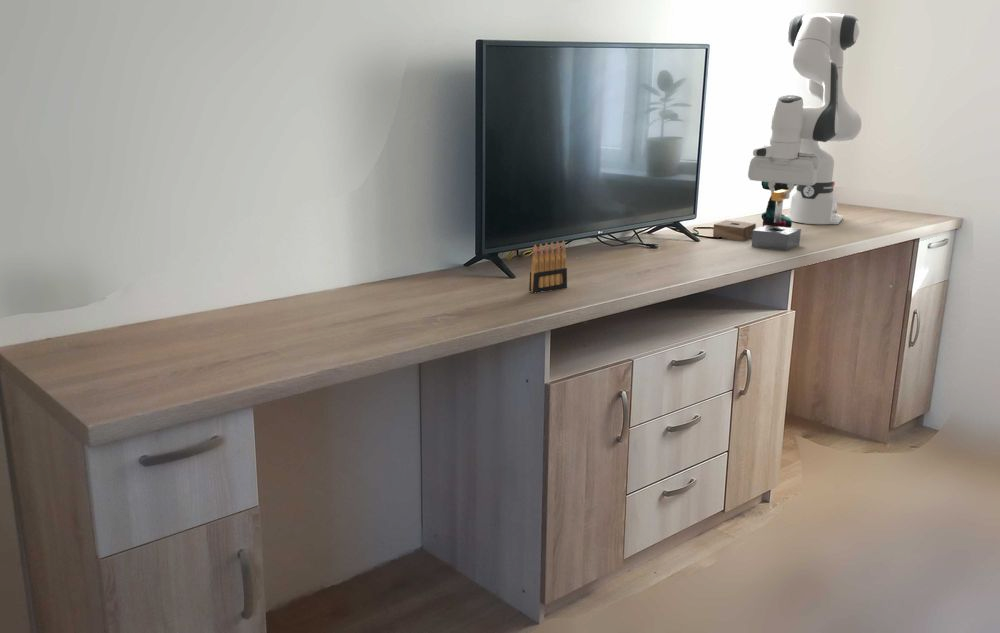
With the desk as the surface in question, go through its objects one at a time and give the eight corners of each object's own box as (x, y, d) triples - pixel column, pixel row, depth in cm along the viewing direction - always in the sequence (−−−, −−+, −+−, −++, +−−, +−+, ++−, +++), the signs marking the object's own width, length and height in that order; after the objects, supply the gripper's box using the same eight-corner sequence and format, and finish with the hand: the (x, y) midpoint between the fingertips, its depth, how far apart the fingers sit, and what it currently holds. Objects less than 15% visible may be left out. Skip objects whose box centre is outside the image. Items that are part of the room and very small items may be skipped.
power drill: (810, 235, 309) (817, 173, 304) (759, 234, 309) (765, 172, 304) (804, 231, 316) (810, 170, 311) (754, 230, 316) (760, 169, 311)
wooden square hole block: (725, 232, 313) (726, 220, 311) (754, 235, 307) (755, 223, 306) (712, 236, 305) (713, 224, 304) (742, 240, 299) (743, 228, 298)
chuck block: (764, 240, 300) (766, 225, 298) (799, 245, 293) (801, 229, 292) (751, 246, 291) (752, 230, 290) (786, 251, 285) (788, 234, 283)
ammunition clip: (533, 293, 232) (534, 245, 229) (528, 292, 233) (529, 244, 230) (567, 287, 238) (568, 240, 235) (562, 286, 239) (563, 239, 236)
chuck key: (778, 220, 294) (781, 189, 291) (785, 221, 292) (788, 190, 290) (769, 223, 287) (772, 191, 285) (776, 224, 286) (779, 192, 284)
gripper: (822, 153, 281) (817, 200, 285) (756, 148, 292) (752, 193, 296) (815, 155, 276) (810, 202, 280) (748, 149, 287) (744, 195, 291)
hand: (779, 198), depth 288 cm, fingers closed on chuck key, 2 cm apart
